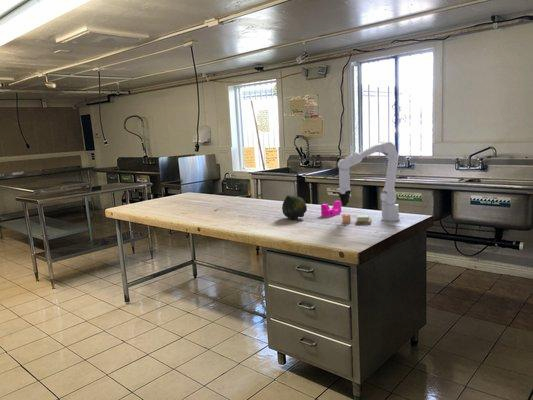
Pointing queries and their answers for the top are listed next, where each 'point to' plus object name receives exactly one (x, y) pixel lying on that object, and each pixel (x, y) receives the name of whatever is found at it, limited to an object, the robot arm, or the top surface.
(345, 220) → the terracotta cylinder
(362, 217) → the tower top
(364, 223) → the tower base
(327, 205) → the toy block
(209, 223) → the top surface
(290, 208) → the squash
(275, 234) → the top surface
